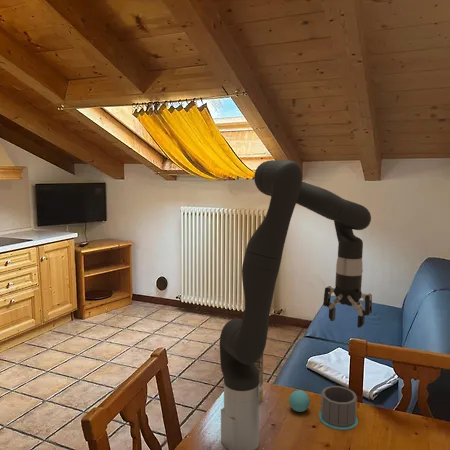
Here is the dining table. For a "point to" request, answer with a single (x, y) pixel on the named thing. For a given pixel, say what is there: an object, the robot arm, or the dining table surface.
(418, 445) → the dining table surface
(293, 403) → the ball
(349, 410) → the grey ribbed round container
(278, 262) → the robot arm
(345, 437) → the dining table surface
